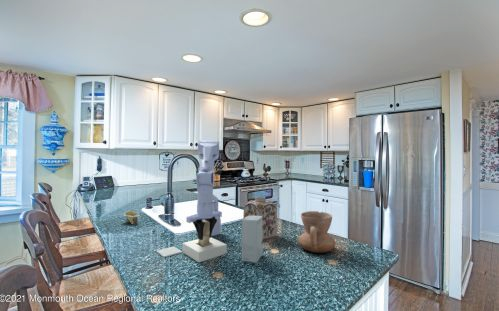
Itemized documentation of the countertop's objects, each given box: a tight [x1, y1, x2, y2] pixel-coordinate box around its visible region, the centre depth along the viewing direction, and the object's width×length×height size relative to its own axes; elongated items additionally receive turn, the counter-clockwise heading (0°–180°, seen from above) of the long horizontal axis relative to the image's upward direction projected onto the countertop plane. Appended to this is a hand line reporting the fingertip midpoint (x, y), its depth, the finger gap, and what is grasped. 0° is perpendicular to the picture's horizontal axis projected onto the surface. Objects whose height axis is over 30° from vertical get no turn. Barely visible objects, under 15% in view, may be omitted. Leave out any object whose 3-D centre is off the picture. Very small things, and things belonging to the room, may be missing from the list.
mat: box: [155, 246, 183, 258], centre depth 94 cm, size 7×7×1 cm
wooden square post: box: [198, 220, 210, 247], centre depth 94 cm, size 3×3×9 cm
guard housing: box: [181, 237, 227, 263], centre depth 94 cm, size 12×12×4 cm
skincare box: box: [241, 215, 264, 264], centre depth 90 cm, size 8×6×15 cm
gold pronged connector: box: [122, 210, 141, 225], centre depth 133 cm, size 12×18×7 cm, turn 68°
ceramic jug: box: [297, 210, 336, 254], centre depth 99 cm, size 18×14×14 cm
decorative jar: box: [242, 196, 278, 241], centre depth 116 cm, size 12×12×18 cm
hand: (204, 238), depth 94 cm, fingers closed on wooden square post, 3 cm apart
